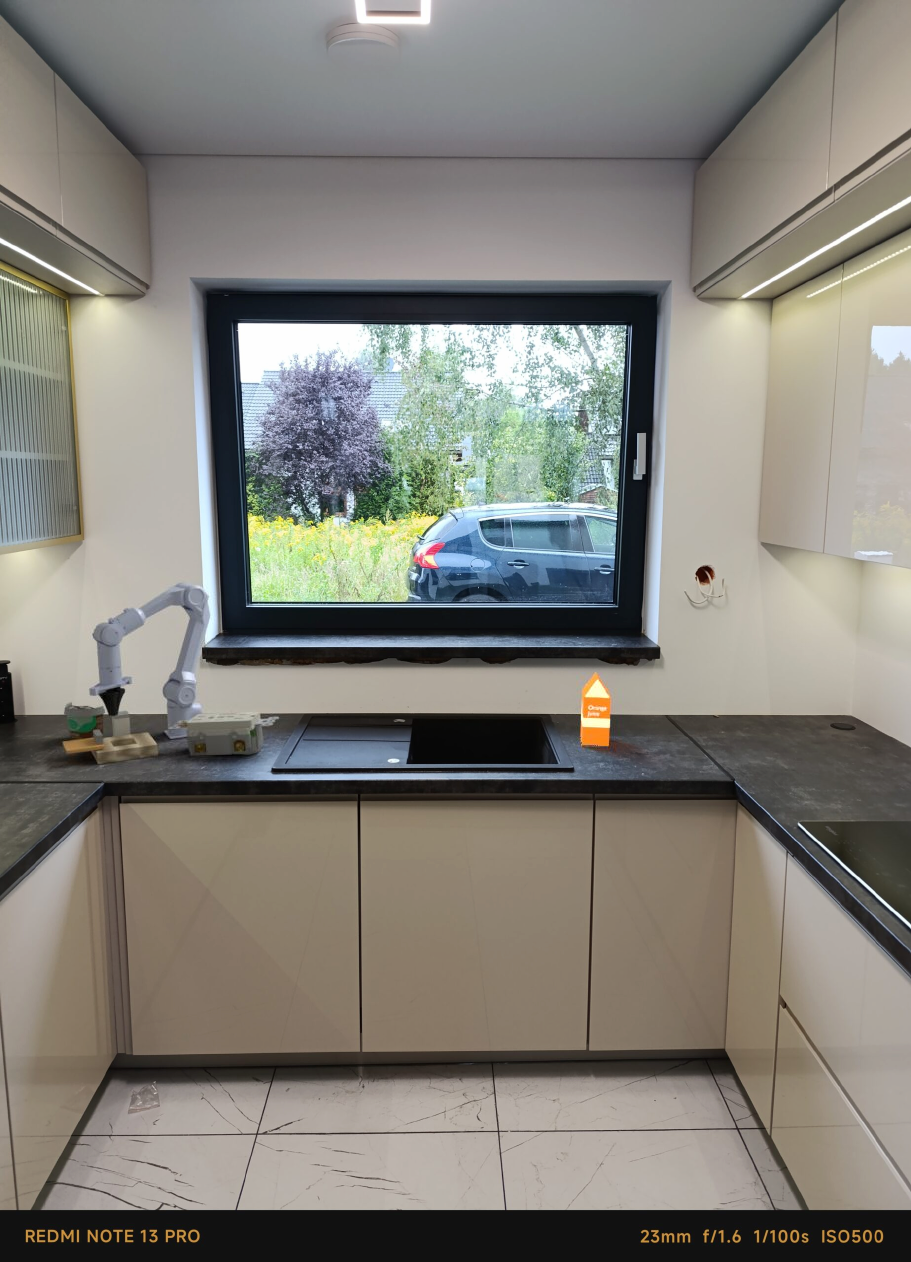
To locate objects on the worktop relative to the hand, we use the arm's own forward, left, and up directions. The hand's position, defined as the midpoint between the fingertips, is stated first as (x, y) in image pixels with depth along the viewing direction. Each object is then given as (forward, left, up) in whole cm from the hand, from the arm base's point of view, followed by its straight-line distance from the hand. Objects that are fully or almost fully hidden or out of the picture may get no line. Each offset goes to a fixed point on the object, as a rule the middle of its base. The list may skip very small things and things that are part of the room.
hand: (113, 715), depth 231 cm
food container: (+7, -11, -10) cm, 16 cm away
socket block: (-1, +6, -9) cm, 11 cm away
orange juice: (-120, +61, -10) cm, 135 cm away
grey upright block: (-3, -6, -9) cm, 11 cm away
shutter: (+9, +6, -6) cm, 12 cm away
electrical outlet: (-26, +17, -10) cm, 32 cm away
